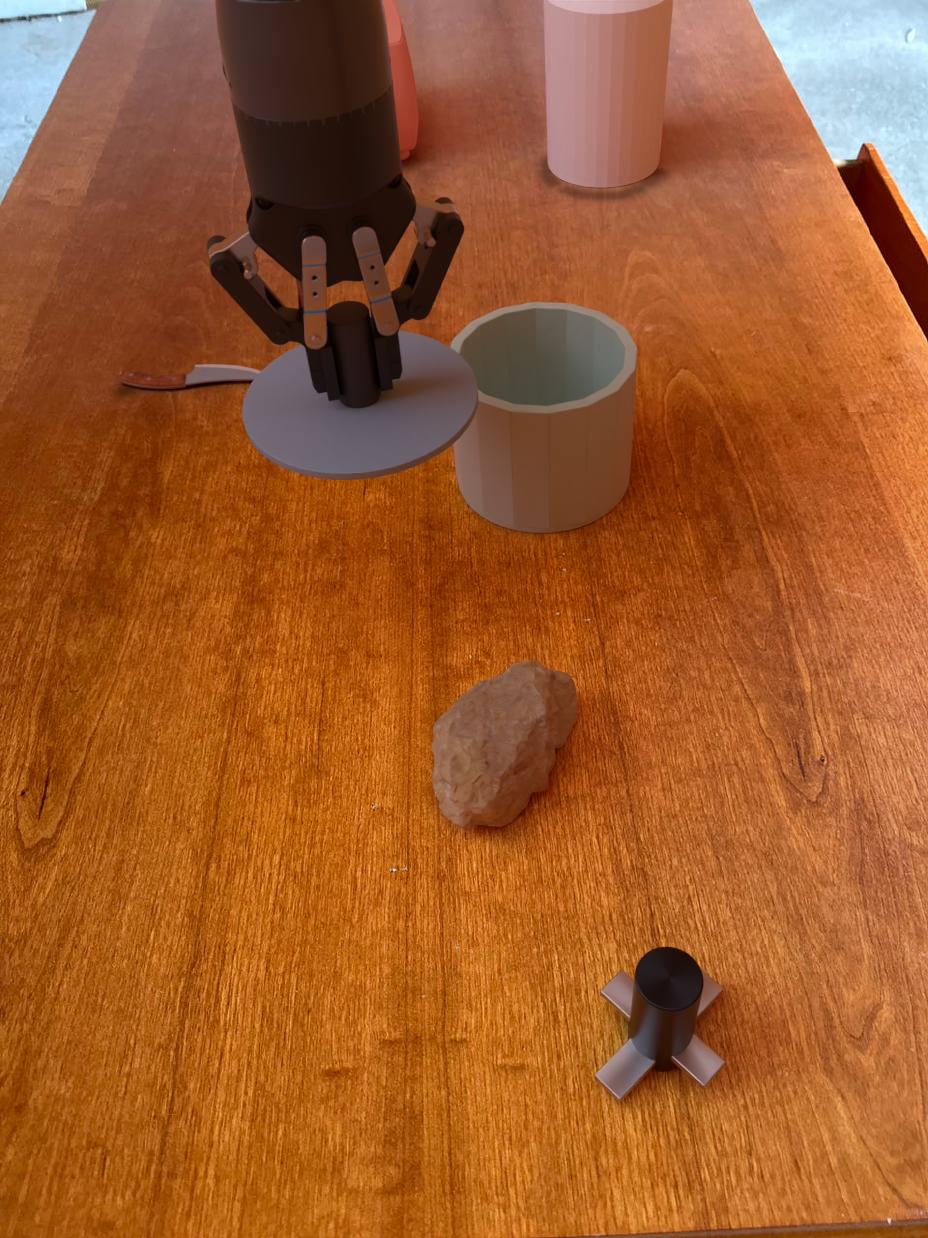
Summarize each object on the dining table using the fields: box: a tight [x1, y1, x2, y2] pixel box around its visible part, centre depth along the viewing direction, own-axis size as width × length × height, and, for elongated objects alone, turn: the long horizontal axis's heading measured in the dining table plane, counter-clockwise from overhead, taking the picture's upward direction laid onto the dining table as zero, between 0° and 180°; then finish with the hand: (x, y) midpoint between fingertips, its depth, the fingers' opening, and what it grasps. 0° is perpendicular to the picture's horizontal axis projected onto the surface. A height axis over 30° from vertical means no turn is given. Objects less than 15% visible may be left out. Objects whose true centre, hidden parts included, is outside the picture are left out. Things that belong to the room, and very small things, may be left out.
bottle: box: [543, 0, 674, 189], centre depth 107 cm, size 12×12×25 cm
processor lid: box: [241, 300, 479, 481], centre depth 64 cm, size 14×14×7 cm
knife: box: [117, 363, 262, 390], centre depth 94 cm, size 13×1×3 cm
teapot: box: [382, 0, 419, 161], centre depth 116 cm, size 22×13×14 cm, turn 7°
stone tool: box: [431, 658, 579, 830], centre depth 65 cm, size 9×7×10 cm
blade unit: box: [593, 946, 726, 1103], centre depth 53 cm, size 8×6×7 cm
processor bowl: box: [449, 301, 639, 534], centre depth 80 cm, size 13×13×10 cm
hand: (359, 386), depth 65 cm, fingers closed on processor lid, 2 cm apart
